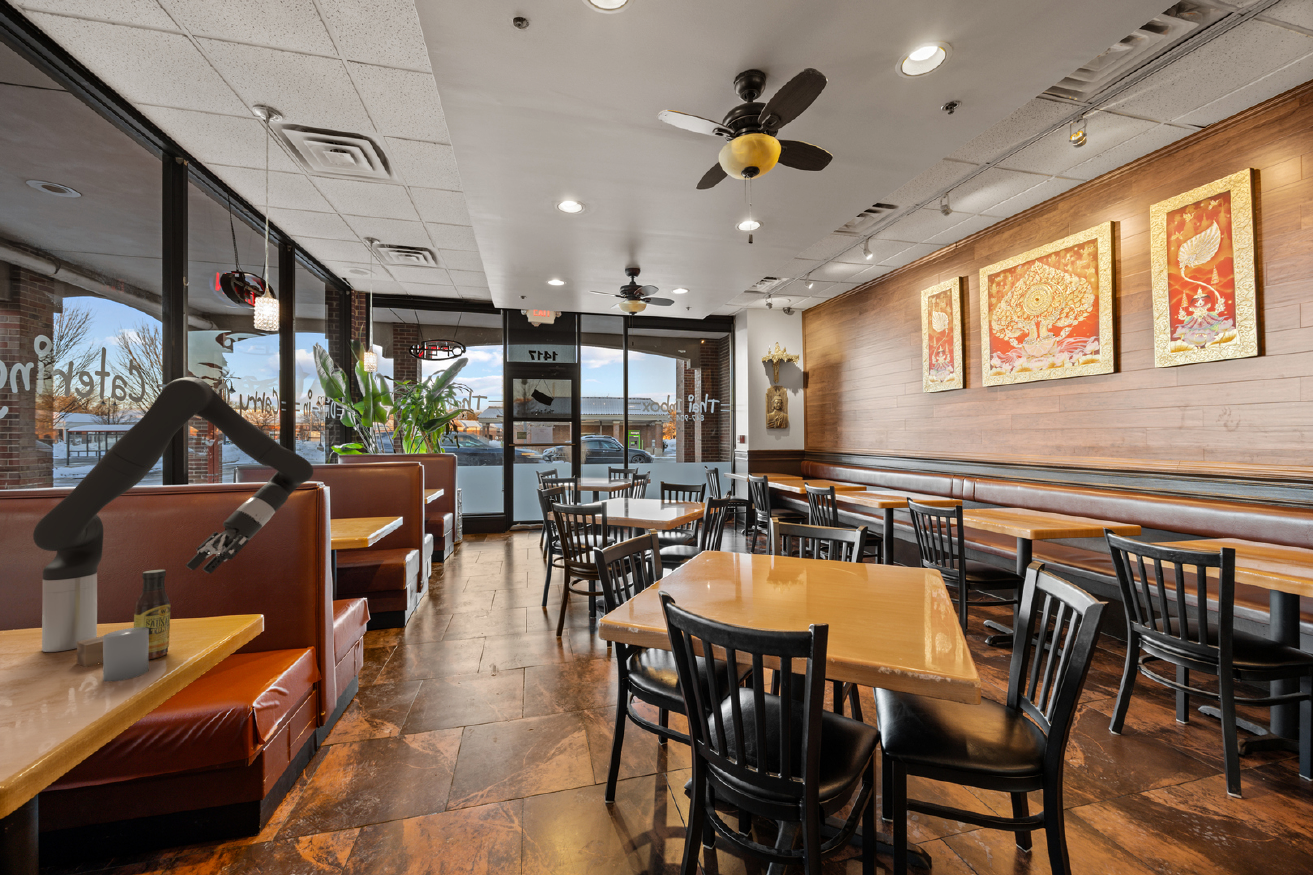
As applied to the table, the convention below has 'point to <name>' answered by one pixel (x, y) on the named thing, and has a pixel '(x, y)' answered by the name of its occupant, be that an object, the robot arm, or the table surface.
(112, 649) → the grey rounded cylinder
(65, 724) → the table surface
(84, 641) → the walnut block
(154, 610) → the sauce bottle
